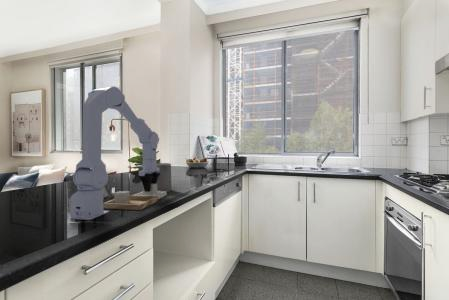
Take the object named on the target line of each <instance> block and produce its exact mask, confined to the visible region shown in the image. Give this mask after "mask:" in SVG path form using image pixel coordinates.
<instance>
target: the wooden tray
mask: <svg viewBox="0 0 449 300" xmlns="http://www.w3.org/2000/svg"><path fill="white" fill-rule="evenodd" d="M132 195H133V194H130V203H128V204H117V203H114V199H110V200H108V201H105V202H103V206H104V209H113V210H133V211H142V210H143V209H145V208H147V207H149V206H150V205H153V204H154V203H157V202H158V201H159V199H158V196H132Z"/></svg>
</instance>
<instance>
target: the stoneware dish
mask: <svg viewBox="0 0 449 300" xmlns="http://www.w3.org/2000/svg"><path fill="white" fill-rule="evenodd" d="M131 195H132V196H151V195H143V190H142V191H140V192H138V193H135V194H131ZM167 195H168V192H167V191H157V194H155V195H153V196H158V200H160V199H162V198H164V197H165V196H167Z"/></svg>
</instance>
